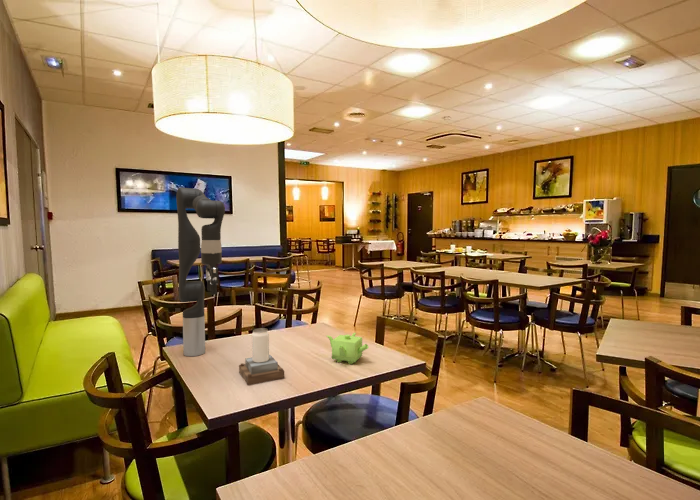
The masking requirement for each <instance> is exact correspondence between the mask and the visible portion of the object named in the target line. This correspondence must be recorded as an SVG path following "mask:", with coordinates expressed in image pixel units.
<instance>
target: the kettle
mask: <svg viewBox="0 0 700 500" xmlns="http://www.w3.org/2000/svg"><path fill="white" fill-rule="evenodd" d="M326 338H328V339H329V342H330V348H331V359H332V360H336V363H341V362H342V361H344V362H347V364H349V365H353V364H354V363H356V362H357V361H358V360H359V359H360V358H362V356H363V352H364V351H366V350H367V349H369V345H368V344H367V343H365V344H363V337H361V336H356V332H353V333H352V334H351V335H350V334H339V335H338V336H336V337H335V338H333V336H331V335H326Z"/></svg>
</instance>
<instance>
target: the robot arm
mask: <svg viewBox="0 0 700 500" xmlns="http://www.w3.org/2000/svg"><path fill="white" fill-rule="evenodd" d="M175 198H176V200H175V201H176V209H177V223H178V225H177V226H178V227H177V228H178V230H177V231H178V234H177V235H178V237H177V238H178V239H177V240H178V241H177V247H178V265H179V267H178V269H179V271H178V300H179V301H180V302H181V303H190V302H196V303H195V304H194V305H193V306H191V307H188V308H186V309H184V310H183V311H182V340H183V342H182V343H183V345H182V346H183V347H182V348H183V350H182V351H183V355H184V357H197V356H201V355H203V354H205V353H206V328H205V326H206V325H205V322H206V321H205V294H206V293H205V291H206V289H207V291H208V292H210V295H213V296H214V295H215V296H216V295H217V294H218V284H219V268H218V267H217V265H220V264H222V263H223V260H222V258H223V257H222V253H223V251H222V240H221V234H222V233H221V231H222V230H221V229H222V223H223V219H224V216H225V213H226V207H225V204H224V202H222V201H220V200H211V199H210V198H208V197H207V196H206V195H205V194H204V192H203V191H202V189H199V188H191V187H190V188H189V187H178V189H177V190H176V197H175ZM186 209H188V210H189V209H190V210H191V209H192V210H193V209H194V210H195V212H196V215H197V216H198V218H200V219H214V220H213V222H212V223H208V224H204V225H202V226H201V230H200V231H201V237H200V235H199V232H198V231H197V230H196V228H195V227H194V226H193V224H192V223H191V221H190V219H189V217H188V213H187V211H186ZM199 256H200V257H201V258H200V262H201V264H202V265H205V280H206V282H207V283H206V285H207V288H206V287H205V282H203V280H191V281H187V277H188V275H189V273H190V271H191V268H192V266H193V265H194V263H196V261H197V259H198V258H199ZM205 288H206V289H205Z"/></svg>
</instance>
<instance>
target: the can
mask: <svg viewBox="0 0 700 500" xmlns="http://www.w3.org/2000/svg"><path fill="white" fill-rule="evenodd" d="M251 349H252V350H251V358H252V360H253V362H255V363H263V362H267V361H268V360H269V355H270V333H269V330H268V328H265V327H260V328H254V329H253V330H252V334H251Z"/></svg>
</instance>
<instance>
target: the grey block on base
mask: <svg viewBox="0 0 700 500" xmlns="http://www.w3.org/2000/svg"><path fill="white" fill-rule="evenodd" d="M238 367H239V368H238V371H239V372H238V373H239V374H240V376H241V377H242V379H243V381H244V382H245V384H246V385H247V386H252V385H258V384H262V383H263V384H264V383H267V382H273V381H277V380H283V379H285V370H284V368H282V367H281V365H279V364H278V361H277V360H276V359H275V358H274V357H273V356H272V355H271V354H269V360H268V361H267V362H263V363H255V362H253V360H252V357H247V358H245V363H240V364H239V365H238Z"/></svg>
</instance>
